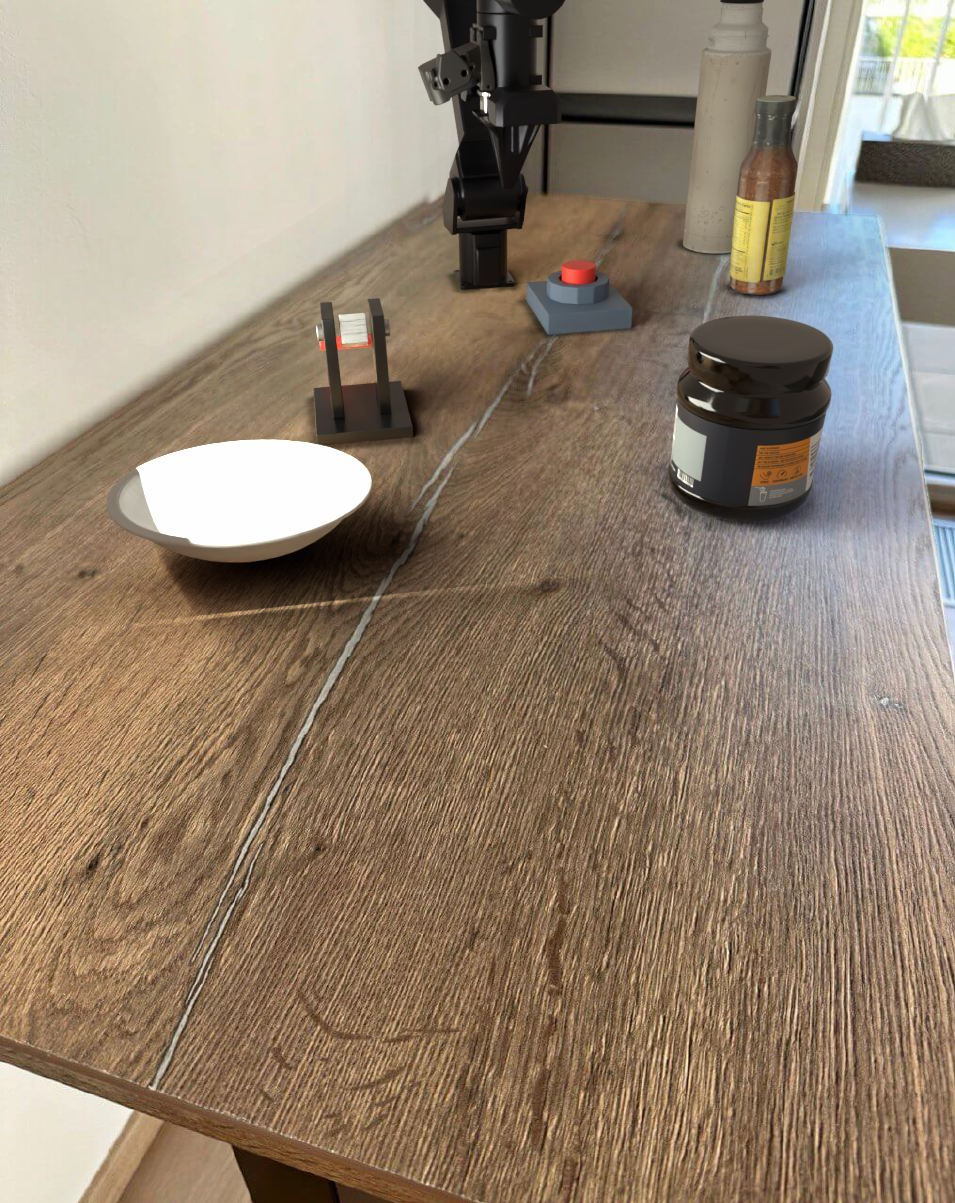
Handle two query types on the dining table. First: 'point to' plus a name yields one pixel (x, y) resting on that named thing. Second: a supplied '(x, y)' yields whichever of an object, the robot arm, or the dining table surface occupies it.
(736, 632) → the dining table surface
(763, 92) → the thermos bottle
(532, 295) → the button box
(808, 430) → the supplement container
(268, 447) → the dish
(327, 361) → the bracket
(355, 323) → the lever
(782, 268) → the sauce bottle
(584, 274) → the button
